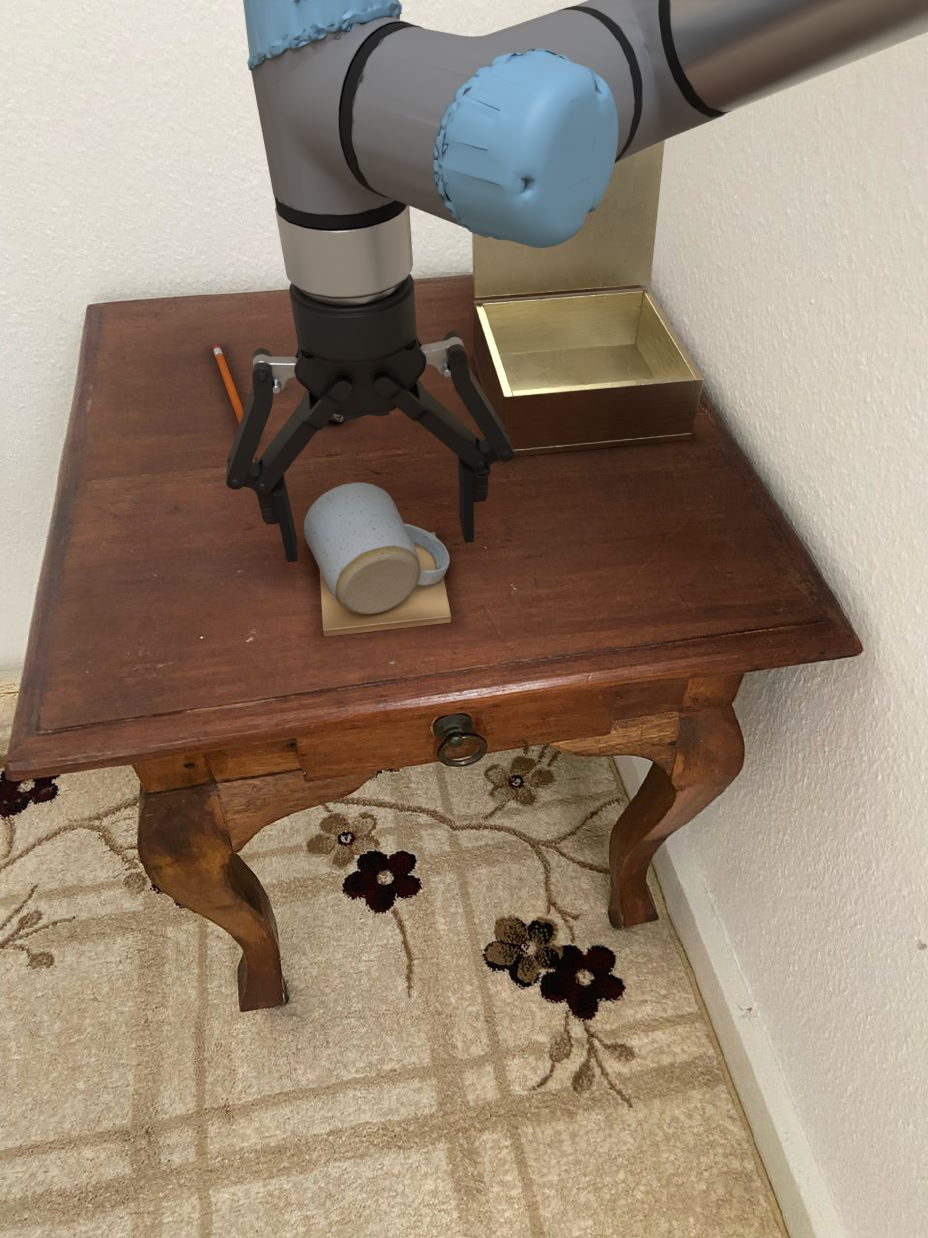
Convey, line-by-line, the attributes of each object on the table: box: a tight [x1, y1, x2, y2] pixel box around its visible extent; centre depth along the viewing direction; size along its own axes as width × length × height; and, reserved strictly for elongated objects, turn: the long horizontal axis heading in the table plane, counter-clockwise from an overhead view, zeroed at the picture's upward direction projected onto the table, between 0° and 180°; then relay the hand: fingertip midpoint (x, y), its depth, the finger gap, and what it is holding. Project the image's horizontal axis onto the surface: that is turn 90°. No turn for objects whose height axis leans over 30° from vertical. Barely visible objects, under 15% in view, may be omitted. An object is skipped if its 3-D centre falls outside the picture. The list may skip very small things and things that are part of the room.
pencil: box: [212, 344, 244, 426], centre depth 90 cm, size 1×19×1 cm, turn 21°
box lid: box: [471, 140, 666, 298], centre depth 86 cm, size 19×19×5 cm
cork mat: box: [319, 531, 452, 638], centre depth 71 cm, size 10×10×1 cm
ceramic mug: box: [303, 482, 451, 614], centre depth 68 cm, size 11×8×8 cm
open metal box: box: [473, 287, 705, 458], centre depth 87 cm, size 18×19×7 cm
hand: (380, 540), depth 68 cm, fingers open, 13 cm apart
